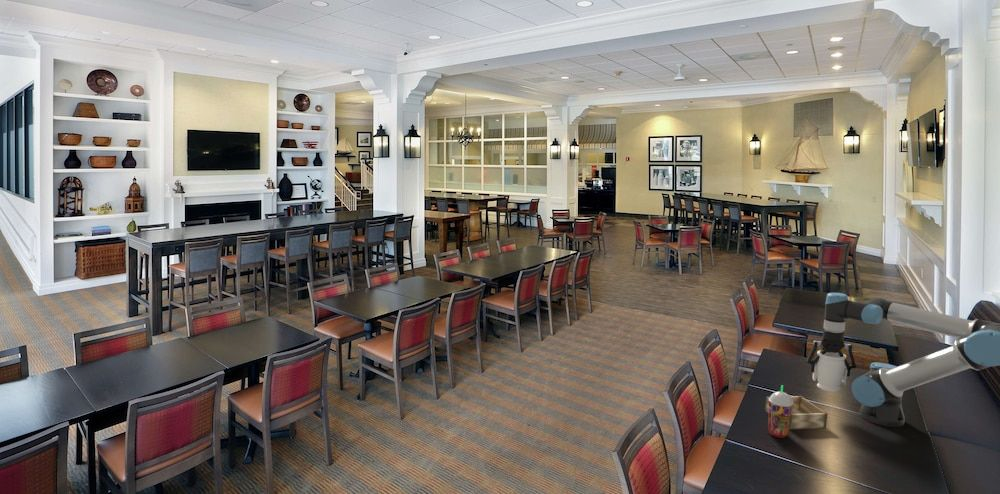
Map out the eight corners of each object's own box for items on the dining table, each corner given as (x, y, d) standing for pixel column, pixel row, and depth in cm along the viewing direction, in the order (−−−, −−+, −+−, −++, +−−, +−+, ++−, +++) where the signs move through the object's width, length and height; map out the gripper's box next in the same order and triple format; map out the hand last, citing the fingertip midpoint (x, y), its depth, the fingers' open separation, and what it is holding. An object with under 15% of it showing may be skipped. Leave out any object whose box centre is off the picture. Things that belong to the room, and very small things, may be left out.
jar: (847, 394, 221) (850, 358, 219) (819, 392, 223) (822, 357, 221) (836, 384, 231) (840, 350, 229) (810, 382, 233) (813, 348, 231)
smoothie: (780, 441, 204) (785, 391, 201) (760, 431, 212) (765, 383, 209) (794, 436, 208) (799, 387, 205) (774, 427, 216) (779, 379, 212)
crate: (799, 409, 232) (801, 395, 231) (826, 428, 215) (827, 413, 214) (764, 410, 230) (766, 396, 229) (788, 429, 214) (790, 414, 213)
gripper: (863, 330, 223) (858, 381, 226) (800, 325, 231) (796, 374, 234) (868, 335, 216) (863, 388, 219) (804, 329, 224) (799, 381, 227)
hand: (828, 381), depth 227 cm, fingers closed on jar, 10 cm apart
